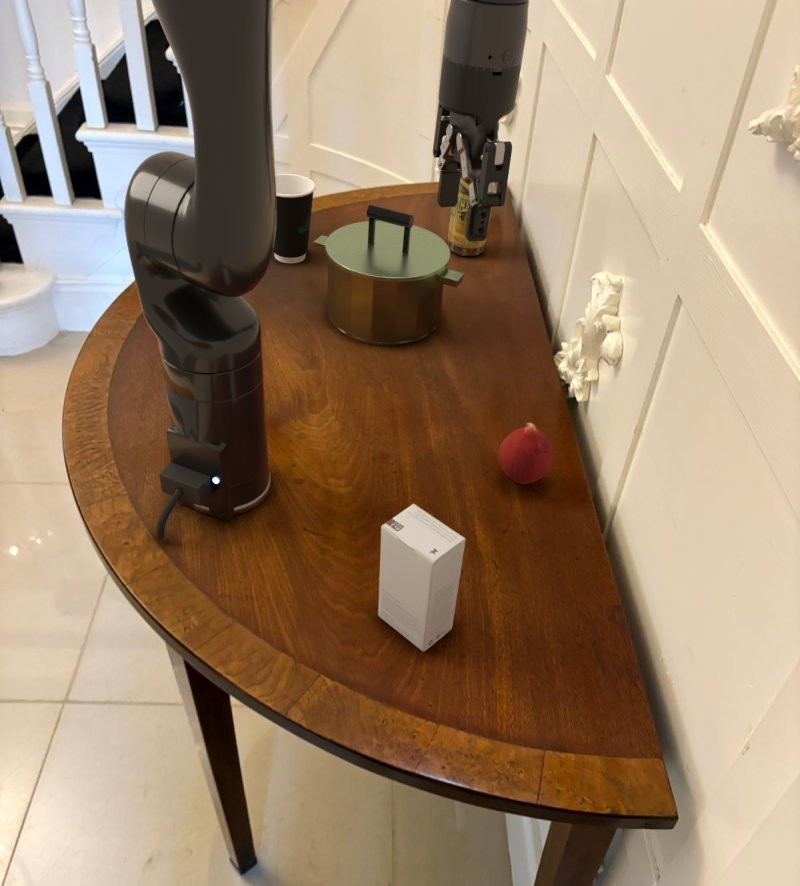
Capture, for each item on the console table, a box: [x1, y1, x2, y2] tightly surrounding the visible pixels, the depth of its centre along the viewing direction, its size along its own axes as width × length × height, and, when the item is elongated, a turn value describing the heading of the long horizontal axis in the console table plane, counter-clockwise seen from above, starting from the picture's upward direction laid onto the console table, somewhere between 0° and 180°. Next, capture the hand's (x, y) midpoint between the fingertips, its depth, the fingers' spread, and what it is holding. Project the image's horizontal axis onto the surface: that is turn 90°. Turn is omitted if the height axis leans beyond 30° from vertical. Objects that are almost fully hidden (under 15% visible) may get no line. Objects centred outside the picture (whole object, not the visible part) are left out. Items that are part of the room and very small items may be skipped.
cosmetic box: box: [377, 503, 466, 652], centre depth 68 cm, size 6×4×12 cm
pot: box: [313, 234, 465, 347], centre depth 108 cm, size 16×21×10 cm
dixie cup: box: [273, 173, 317, 264], centre depth 118 cm, size 8×8×11 cm
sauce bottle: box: [447, 120, 500, 257], centre depth 121 cm, size 7×6×20 cm
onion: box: [498, 422, 554, 485], centre depth 85 cm, size 6×6×8 cm
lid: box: [324, 203, 451, 282], centre depth 103 cm, size 17×17×6 cm
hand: (460, 222), depth 85 cm, fingers open, 8 cm apart
